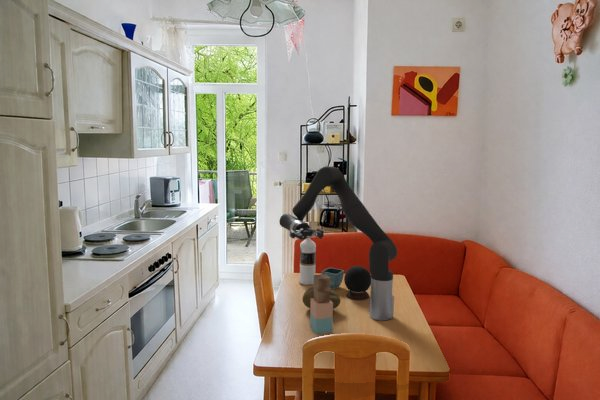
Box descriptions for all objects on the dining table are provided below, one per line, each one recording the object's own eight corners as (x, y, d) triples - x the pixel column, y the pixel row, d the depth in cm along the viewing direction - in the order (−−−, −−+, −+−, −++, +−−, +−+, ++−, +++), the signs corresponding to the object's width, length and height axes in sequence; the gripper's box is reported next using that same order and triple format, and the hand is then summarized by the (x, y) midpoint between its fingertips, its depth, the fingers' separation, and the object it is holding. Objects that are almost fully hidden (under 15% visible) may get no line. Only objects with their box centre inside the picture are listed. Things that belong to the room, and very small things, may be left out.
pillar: (325, 297, 180) (325, 273, 179) (329, 302, 175) (330, 277, 174) (313, 299, 179) (313, 275, 177) (317, 303, 174) (318, 278, 173)
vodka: (316, 285, 232) (317, 228, 228) (299, 285, 232) (299, 228, 227) (315, 279, 241) (316, 225, 237) (298, 279, 241) (298, 225, 237)
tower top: (326, 310, 182) (326, 296, 181) (332, 317, 175) (333, 302, 175) (310, 312, 180) (310, 298, 179) (315, 319, 173) (316, 304, 173)
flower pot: (344, 286, 230) (344, 270, 229) (336, 291, 223) (336, 274, 222) (329, 283, 235) (329, 267, 234) (320, 288, 227) (321, 271, 226)
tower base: (326, 324, 183) (326, 311, 182) (332, 332, 176) (332, 317, 175) (310, 326, 181) (310, 312, 180) (315, 334, 174) (316, 319, 173)
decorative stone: (341, 307, 202) (341, 285, 201) (339, 316, 192) (339, 294, 190) (304, 304, 206) (305, 283, 204) (300, 313, 195) (300, 291, 193)
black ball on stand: (363, 303, 208) (364, 271, 206) (338, 297, 215) (339, 267, 213) (375, 295, 219) (376, 265, 216) (351, 289, 226) (352, 261, 224)
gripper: (285, 222, 199) (295, 229, 184) (315, 220, 203) (327, 227, 188) (284, 238, 200) (295, 246, 185) (314, 236, 204) (327, 244, 189)
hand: (311, 236), depth 186 cm, fingers open, 8 cm apart
